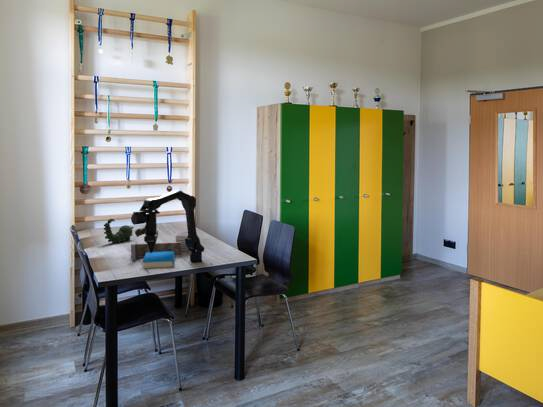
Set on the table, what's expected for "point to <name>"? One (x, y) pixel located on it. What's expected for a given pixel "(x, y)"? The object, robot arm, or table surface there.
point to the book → (158, 259)
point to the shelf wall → (158, 248)
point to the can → (182, 241)
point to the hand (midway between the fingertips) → (151, 251)
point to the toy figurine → (122, 234)
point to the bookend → (134, 250)
